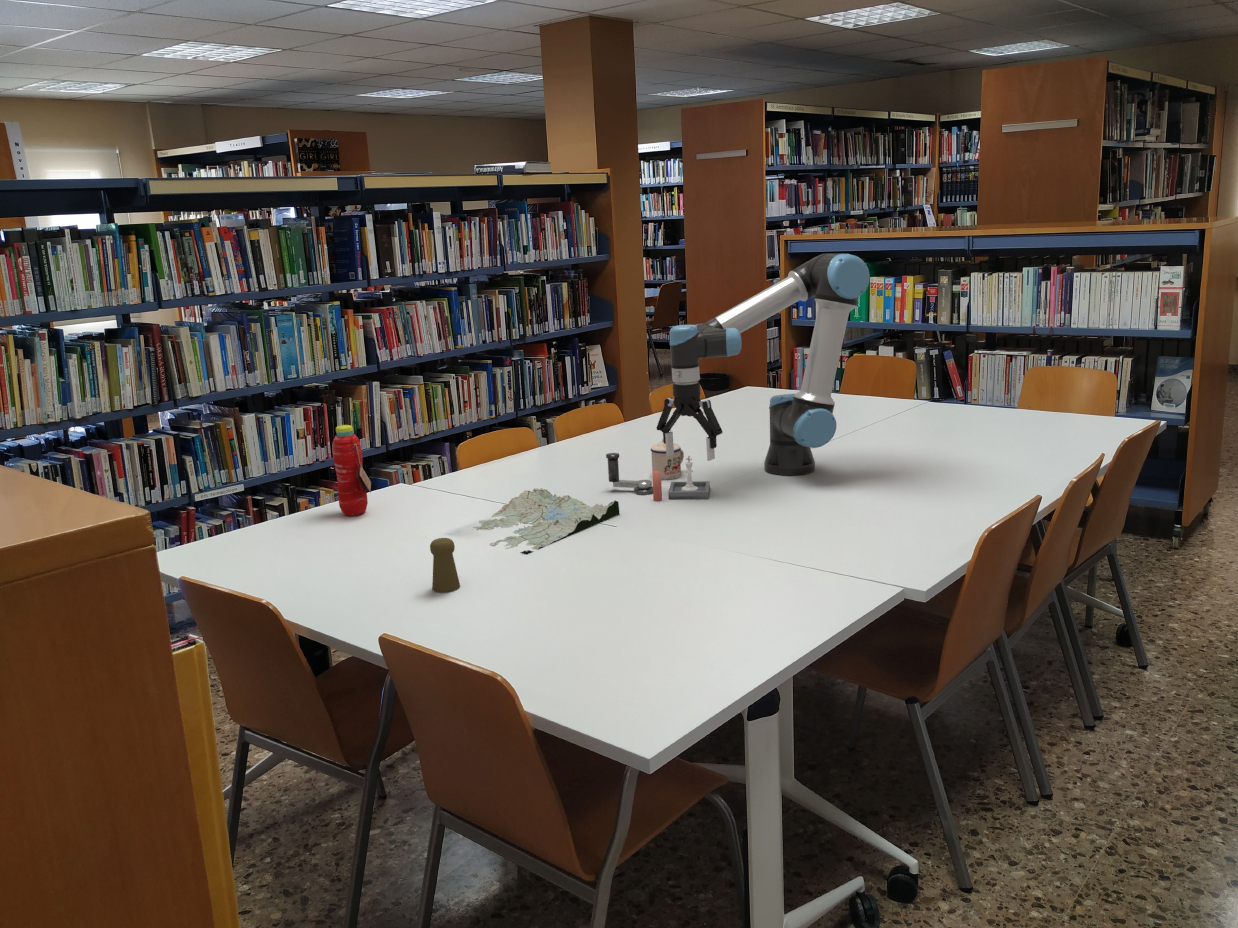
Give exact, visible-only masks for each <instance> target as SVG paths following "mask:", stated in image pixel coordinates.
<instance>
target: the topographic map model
mask: <svg viewBox="0 0 1238 928" xmlns="http://www.w3.org/2000/svg"><path fill="white" fill-rule="evenodd" d="M617 516H620V505H619V501H618V500H613V501H611V502H609V503H608V504H607V505H606V504H605V505H603V504H599V503H596V504H594V506H590V505H588V504H585V503H584V502H583V501H580V500H579V499H577V498H573V497H572V496H570V495H568V494H567V495H562V496H560V495H559V496H558V495H557V494H556V493H554V495H553V494H552V493H551V492H550V491H549V490H548V489H545V488H533V489H532V490H524V491H523V492H521V493H520V494H519V495H518V496H515V497H513V498H511V499H510V501H508V503H507V504H504V505H503V506H502V507H501V509H500V510H498V511H497V512H495V513H493V514H492V515H491V518H492V517H493V518H494V517H495V518H494V519H488V520H484V519H483V520H482V519H481V520H479V521H478V523H479V524H481V525H480V526H479V525H477V526H473V527H472V528H473V529H476V531H479V530H482V531H485V530H487V531H492V530H494V529H495V528H499V527H500V528H501V529H507V528H508V529H510V528H512V527H514V526H518V525H519V523H520V524H524V526H523V527H521V528H520V527H519V528H517V529H515V530H513V532H512V533H513V534H514V535H509V536H506V537H504V539H498V540H496V541H495V542H494V541H493V542H491V543H489V546H491V547H496V546H497V545H499V543H501V542H504V543H506V544H505V545H504V547H505V548H504V549H505V550H509V549H513V548H516V547H518V545H520V544H521V543H524V542H526V541H527V543H526V545H525V546H527V547H528V546H533V547H531V549H532V551H531V550H529V549H526V550H523V551H521V552H519V553H520V554H524V555H529V554H531V553H533V552H535V551H538V550H540V549H543V548H545V547H548V546H550V545H553V544H554V543H557V542H559V541H561V540H564V539H567V538H569V537H571V536H573V535H576V534H577V533H580V532H583V531H584V530H586V529H589V528H592V527H594V526H596V525H598V524H601V523H603V522H605V521H607V520H610V519H612V518H615V517H617ZM496 517H497V518H496ZM498 517H501V518H499V519H498ZM525 524H526V525H527V524H529V525H528V526H526V525H525ZM516 534H517V535H516ZM518 535H519V536H518ZM533 550H535V551H533Z"/></svg>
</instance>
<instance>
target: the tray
mask: <svg viewBox="0 0 1238 928" xmlns="http://www.w3.org/2000/svg"><path fill="white" fill-rule="evenodd" d="M710 482H711V481H710V480H704V481H703V480H702V481H701V480H699V481H697V480H696V481H695V480H694V481H693V480H692V483H693V485H694V486H696V487H698V490H699V491H681V488H682V487H684V486H686V484H687V480H686V481H685V480H684V481H671V482H670V485H669V488H668V493H667V495H668V500H709V498H710V491H711V490H710V489H711V486H710V485H711V483H710Z"/></svg>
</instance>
